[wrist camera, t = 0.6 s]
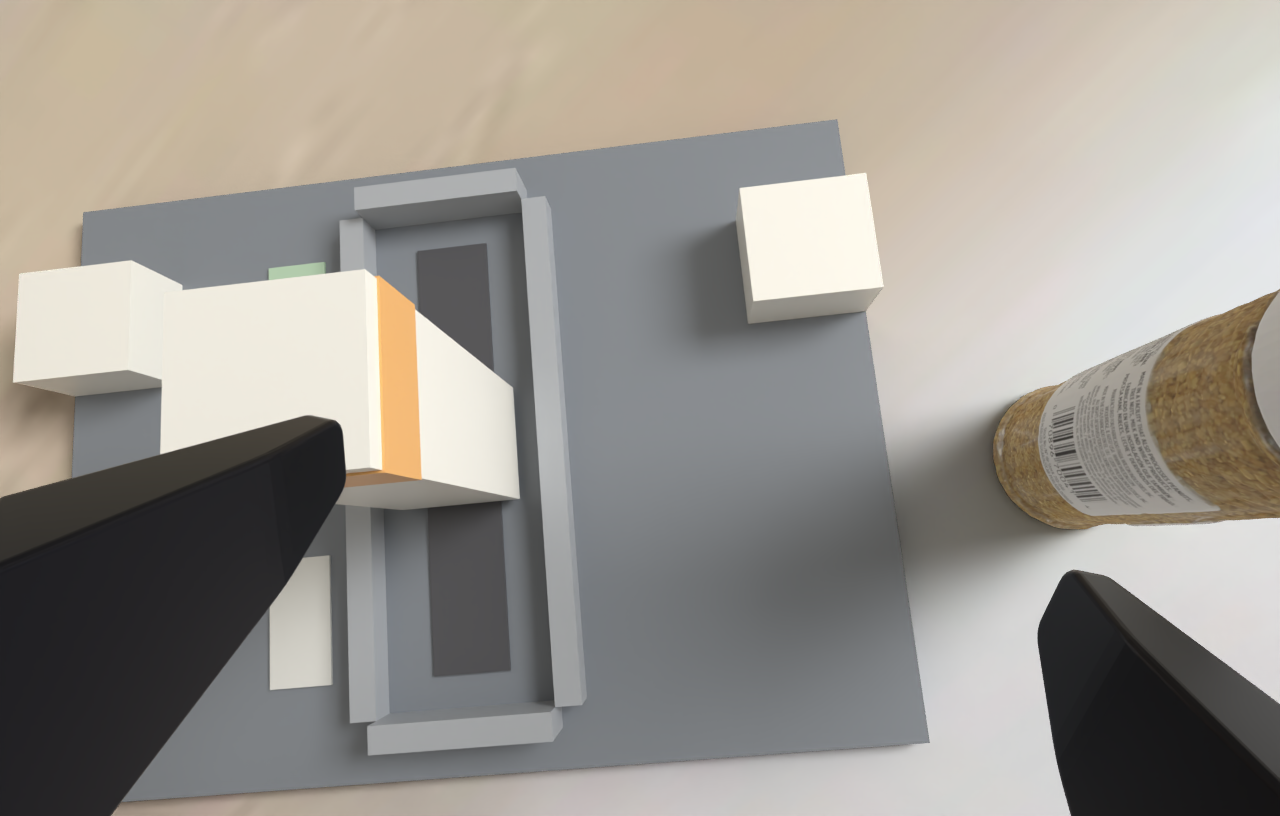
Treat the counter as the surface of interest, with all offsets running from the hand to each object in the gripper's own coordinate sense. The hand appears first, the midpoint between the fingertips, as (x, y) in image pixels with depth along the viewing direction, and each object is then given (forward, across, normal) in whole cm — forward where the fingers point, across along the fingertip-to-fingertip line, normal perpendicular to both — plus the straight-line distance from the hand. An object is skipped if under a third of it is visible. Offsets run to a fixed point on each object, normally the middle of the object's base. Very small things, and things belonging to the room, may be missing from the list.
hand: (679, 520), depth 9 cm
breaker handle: (+12, +8, +8) cm, 16 cm away
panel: (+13, +8, +8) cm, 17 cm away
